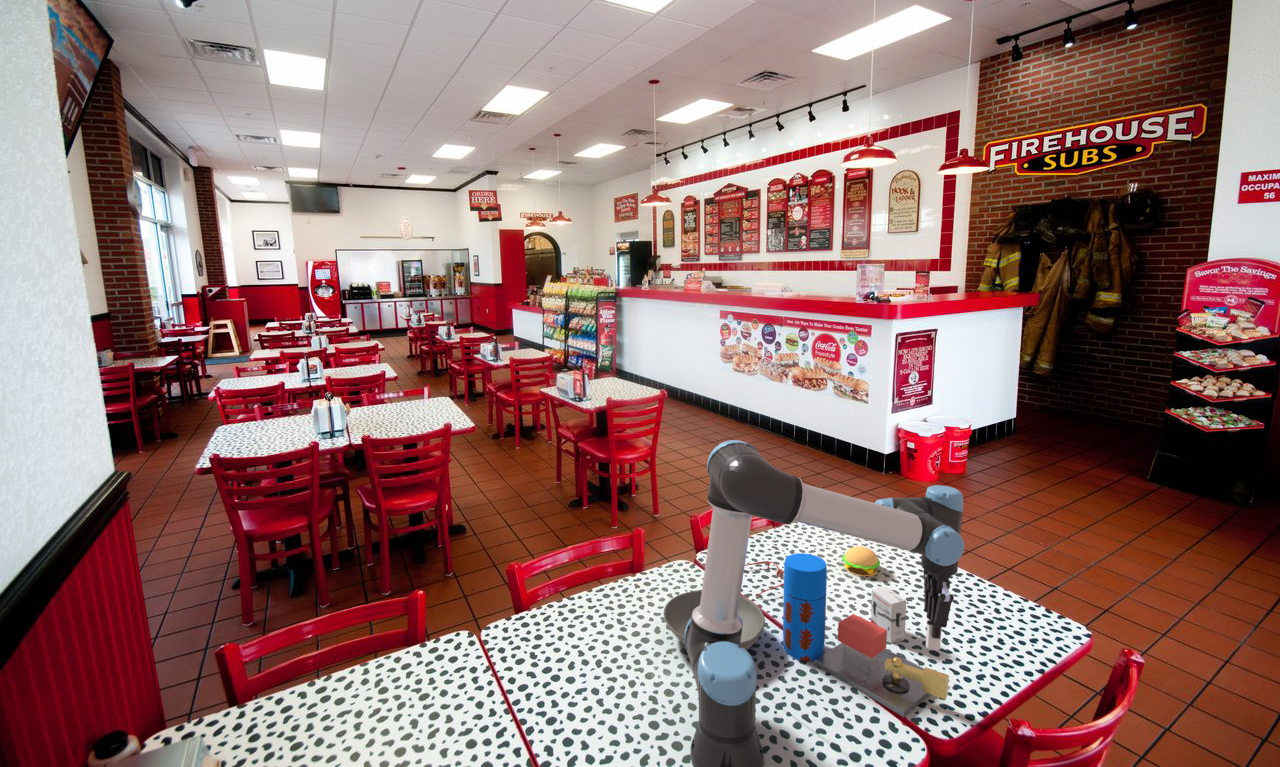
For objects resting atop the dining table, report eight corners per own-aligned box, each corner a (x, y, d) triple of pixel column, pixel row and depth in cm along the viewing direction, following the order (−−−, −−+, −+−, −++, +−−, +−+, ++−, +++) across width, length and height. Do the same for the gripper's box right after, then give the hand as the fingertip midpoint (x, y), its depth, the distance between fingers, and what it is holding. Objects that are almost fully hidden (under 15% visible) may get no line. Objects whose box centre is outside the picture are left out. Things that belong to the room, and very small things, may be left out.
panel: (903, 717, 133) (905, 691, 132) (814, 664, 152) (815, 641, 151) (943, 683, 143) (944, 659, 142) (855, 638, 162) (856, 617, 161)
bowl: (684, 683, 146) (684, 653, 144) (652, 622, 172) (651, 596, 171) (783, 663, 153) (784, 633, 152) (737, 607, 180) (738, 582, 178)
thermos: (826, 663, 152) (829, 573, 148) (783, 659, 154) (785, 570, 150) (822, 639, 163) (824, 554, 159) (782, 635, 165) (783, 551, 161)
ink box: (869, 627, 168) (871, 588, 166) (884, 623, 169) (885, 585, 167) (890, 644, 160) (892, 603, 158) (905, 640, 161) (907, 600, 159)
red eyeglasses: (797, 594, 187) (798, 579, 186) (754, 605, 181) (754, 590, 181) (766, 570, 203) (767, 557, 202) (726, 580, 197) (726, 566, 197)
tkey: (883, 679, 142) (884, 656, 141) (886, 674, 144) (887, 651, 143) (945, 702, 134) (947, 678, 133) (947, 696, 136) (949, 672, 135)
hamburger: (882, 569, 202) (883, 545, 200) (875, 584, 192) (877, 559, 190) (846, 561, 208) (847, 538, 206) (838, 575, 198) (839, 551, 196)
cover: (871, 658, 144) (872, 639, 143) (837, 640, 151) (838, 622, 150) (886, 648, 147) (887, 630, 147) (852, 631, 155) (853, 613, 154)
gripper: (969, 567, 128) (960, 666, 132) (947, 542, 141) (939, 632, 144) (932, 565, 129) (924, 663, 133) (914, 540, 142) (907, 630, 146)
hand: (932, 647), depth 139 cm, fingers closed
